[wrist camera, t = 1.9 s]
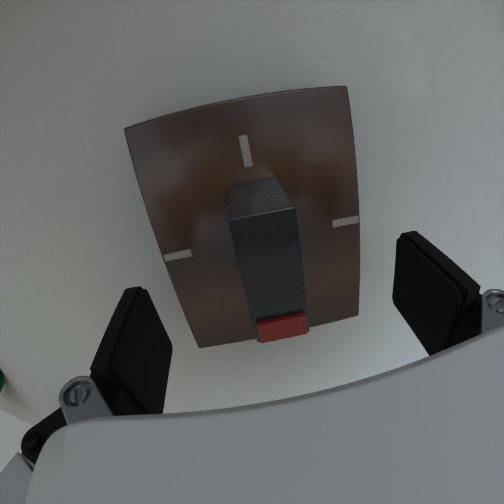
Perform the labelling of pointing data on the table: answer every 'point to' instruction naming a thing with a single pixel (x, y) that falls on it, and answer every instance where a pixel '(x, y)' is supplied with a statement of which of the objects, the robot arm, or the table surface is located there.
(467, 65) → the table surface
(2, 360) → the table surface
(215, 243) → the panel
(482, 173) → the table surface
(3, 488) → the robot arm
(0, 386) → the soda can
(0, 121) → the table surface
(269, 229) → the rotary selector knob
